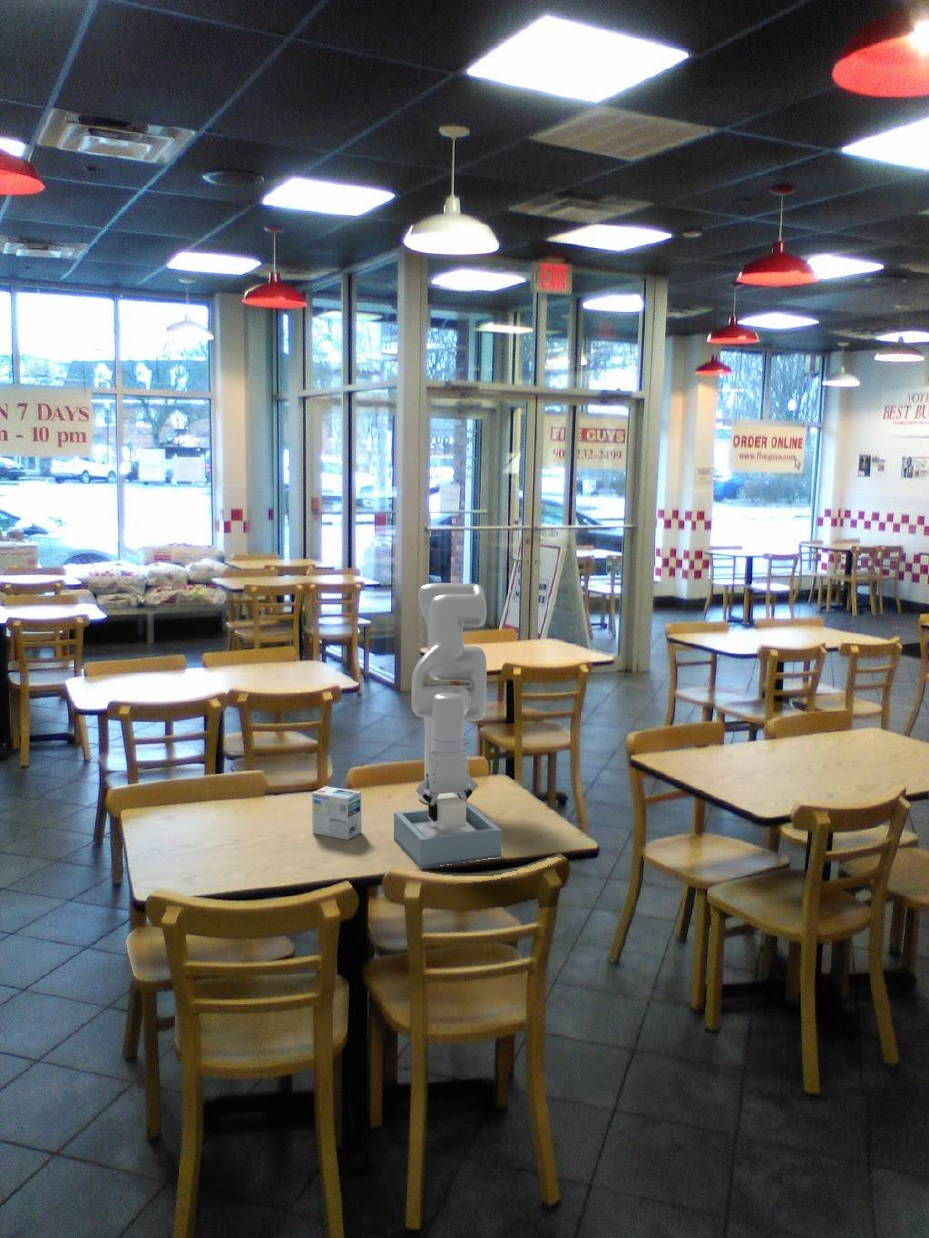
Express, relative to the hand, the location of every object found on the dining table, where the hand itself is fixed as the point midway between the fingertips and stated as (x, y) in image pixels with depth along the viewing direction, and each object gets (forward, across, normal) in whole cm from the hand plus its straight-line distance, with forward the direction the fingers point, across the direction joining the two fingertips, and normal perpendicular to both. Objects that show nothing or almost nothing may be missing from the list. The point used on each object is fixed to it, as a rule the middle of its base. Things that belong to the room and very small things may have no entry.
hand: (446, 817), depth 257 cm
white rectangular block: (+1, 0, 0) cm, 1 cm away
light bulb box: (+8, +22, -19) cm, 30 cm away
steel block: (+7, 0, 0) cm, 7 cm away
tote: (+8, 0, 0) cm, 8 cm away
